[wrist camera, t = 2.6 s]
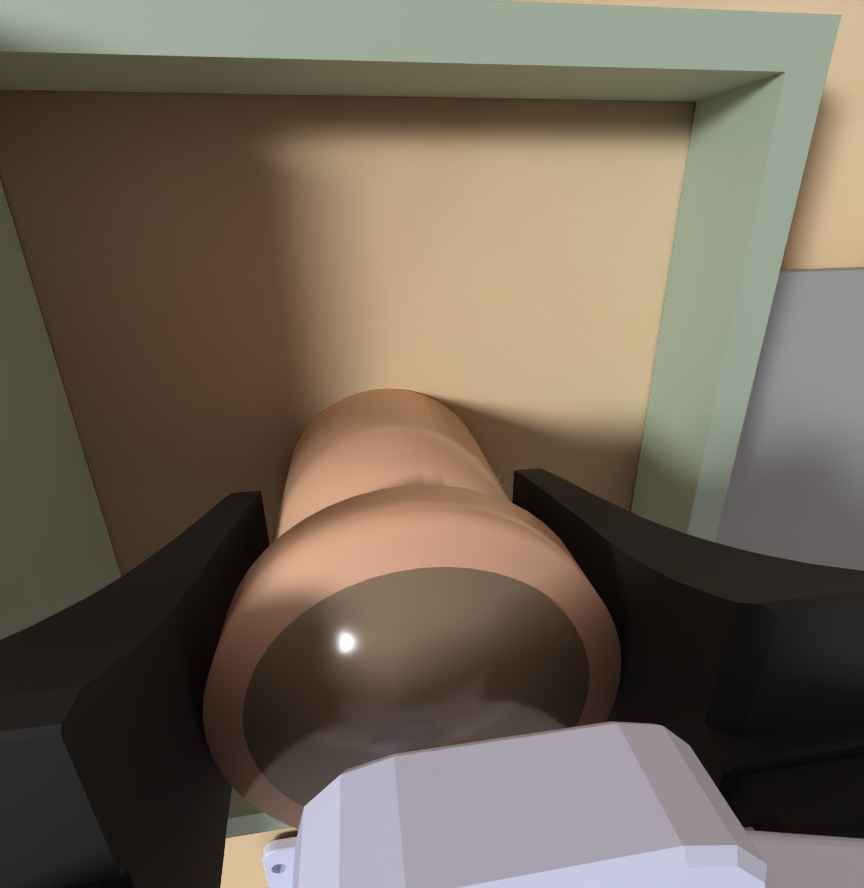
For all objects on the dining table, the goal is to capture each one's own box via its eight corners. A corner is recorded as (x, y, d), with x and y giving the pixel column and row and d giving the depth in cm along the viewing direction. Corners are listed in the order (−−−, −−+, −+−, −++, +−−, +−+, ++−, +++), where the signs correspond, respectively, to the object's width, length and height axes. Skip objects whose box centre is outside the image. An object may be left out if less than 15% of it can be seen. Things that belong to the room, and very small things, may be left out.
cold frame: (621, 699, 18) (738, 901, 13) (151, 766, 16) (52, 1042, 11) (738, 57, 11) (1125, -102, 6) (-96, 32, 9) (-793, -262, 3)
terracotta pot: (492, 561, 15) (597, 811, 9) (287, 582, 14) (240, 873, 8) (500, 366, 13) (652, 514, 6) (256, 379, 12) (156, 560, 6)
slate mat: (943, 587, 19) (961, 598, 18) (655, 623, 17) (665, 636, 17) (1095, 260, 14) (1125, 262, 14) (725, 271, 13) (743, 273, 12)
